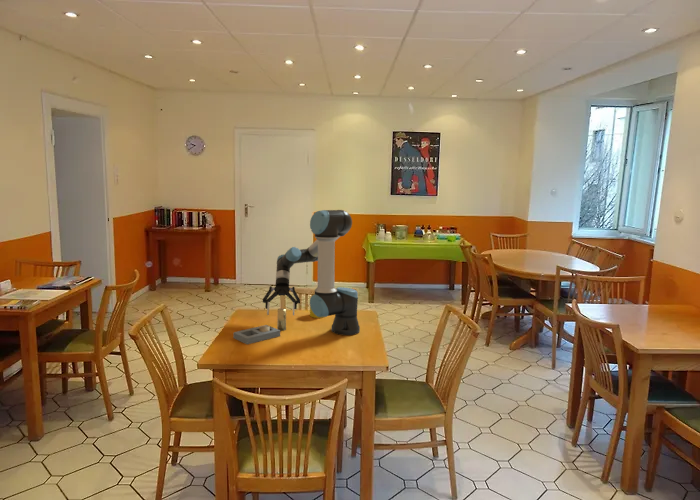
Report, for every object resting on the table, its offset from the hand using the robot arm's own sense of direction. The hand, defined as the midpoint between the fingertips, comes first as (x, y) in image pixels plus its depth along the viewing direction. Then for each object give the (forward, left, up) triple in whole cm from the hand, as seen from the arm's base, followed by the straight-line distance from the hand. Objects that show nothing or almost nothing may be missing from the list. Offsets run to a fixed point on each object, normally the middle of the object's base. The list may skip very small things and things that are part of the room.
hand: (280, 314), depth 271 cm
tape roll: (+5, -32, -8) cm, 33 cm away
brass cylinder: (-3, +1, -8) cm, 8 cm away
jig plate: (-5, +18, -8) cm, 20 cm away
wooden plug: (-5, +14, -8) cm, 16 cm away
